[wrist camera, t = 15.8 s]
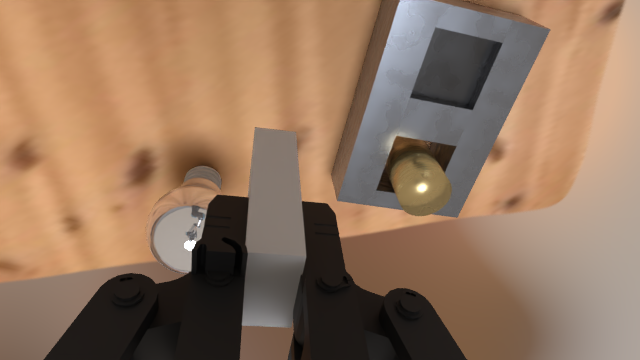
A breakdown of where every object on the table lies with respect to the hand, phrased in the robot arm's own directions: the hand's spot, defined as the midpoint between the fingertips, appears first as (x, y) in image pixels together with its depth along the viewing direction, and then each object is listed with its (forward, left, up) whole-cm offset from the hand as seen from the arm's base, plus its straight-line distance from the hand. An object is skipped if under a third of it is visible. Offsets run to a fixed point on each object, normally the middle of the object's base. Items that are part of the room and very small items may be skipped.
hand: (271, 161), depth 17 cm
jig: (+4, +14, -22) cm, 27 cm away
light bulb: (+15, -4, -22) cm, 27 cm away
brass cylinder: (+9, +14, -22) cm, 28 cm away
